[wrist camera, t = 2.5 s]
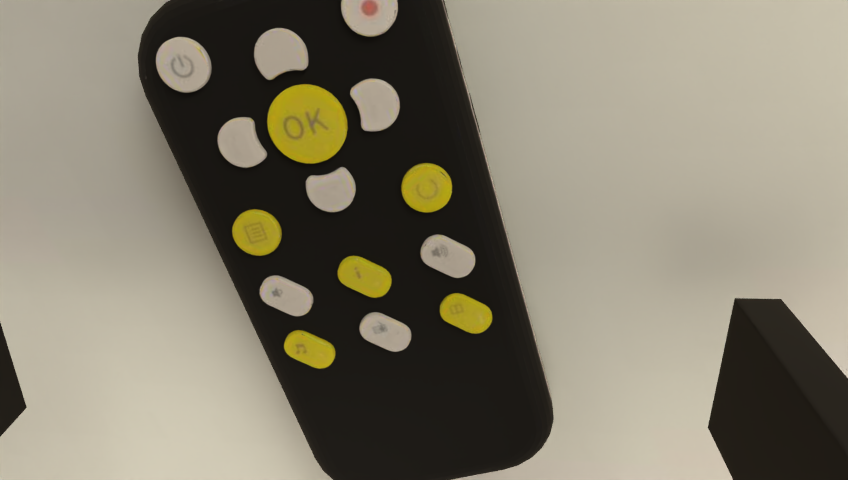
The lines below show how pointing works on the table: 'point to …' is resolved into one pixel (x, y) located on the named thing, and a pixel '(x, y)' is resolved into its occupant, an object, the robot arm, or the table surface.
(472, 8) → the table surface
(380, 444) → the remote control
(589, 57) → the table surface
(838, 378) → the robot arm
